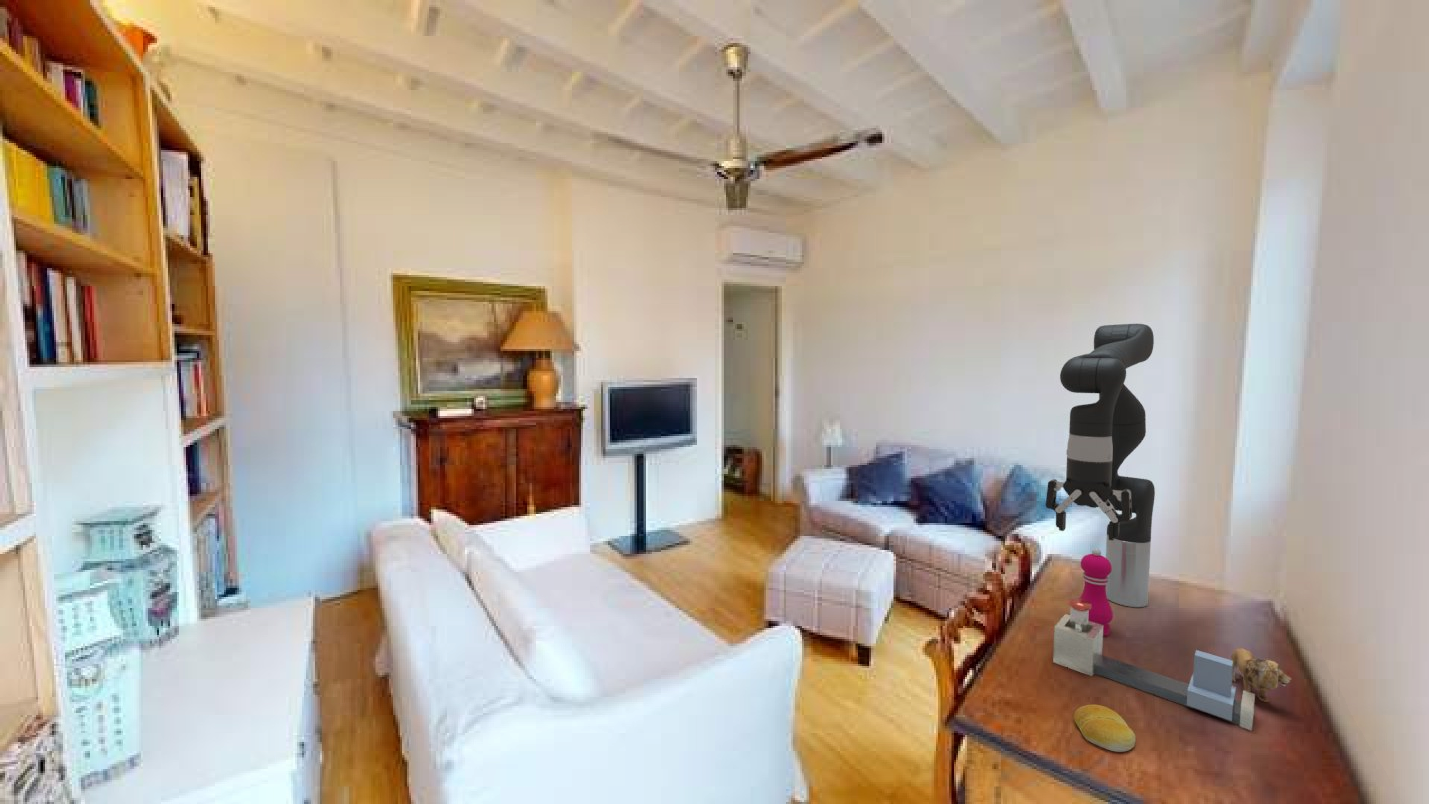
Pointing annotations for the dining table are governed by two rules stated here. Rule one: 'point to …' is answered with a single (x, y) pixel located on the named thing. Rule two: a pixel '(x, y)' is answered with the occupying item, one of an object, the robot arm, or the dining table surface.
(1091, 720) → the bread roll
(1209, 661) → the carriage
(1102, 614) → the pepper mill
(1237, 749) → the dining table surface
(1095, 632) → the rail station
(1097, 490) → the robot arm
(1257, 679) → the lion figurine
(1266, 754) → the dining table surface
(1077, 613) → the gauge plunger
